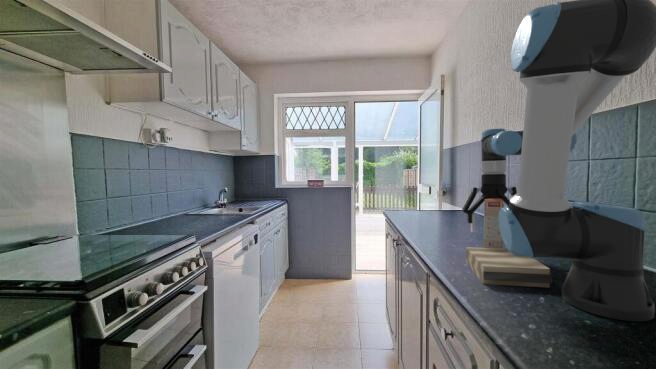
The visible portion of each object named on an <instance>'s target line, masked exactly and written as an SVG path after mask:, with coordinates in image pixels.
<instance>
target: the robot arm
mask: <svg viewBox="0 0 656 369" xmlns="http://www.w3.org/2000/svg"><path fill="white" fill-rule="evenodd" d="M655 49H656V4H655V3H654V2H652V1H651V0H570V1H564V2H563V1H562V2H556V3H553V4H552V3H551V4H549V5H543V6H539V7H536V8H534V9H532V10H530V11H529V12H528V13H527V14H526V15H524V18H523V19H522V21H521V22H520V24H519V25H518V28H517V31H516V33H515V36H514V39H513V42H512V46H511V51H510V56H509V57H510V62H509V63H510V68H511V70H512V71H513V72H516V73H519V82H521V83H522V84H523V85H524V86H525V87H526V97H525V107H524V108H525V109H524V121H523V129H522V130H517V131H514V130H506V129H505V128H501V127H500V128H499V127H498V128H489V129H484V130H483V131H482V132H481V138H480V142H481V173H482V174H481V179H480V180H481V183H480V184H481V186H480V187H475V186H471V192H470V194H469V196H468V198H467V200H466V201H465V204H464V206H463V207H462V209H461V212H463V213H464V214H467V223H468V224H470V232H471V233H472V234H473V233H474V234H475V232H476V227H475V226H476V215H475V214H474V213H475V212H476V210H478V209H479V207H480V206H481V205H482V204H483V203H484V202H485V199H487V198H502V199H503V201H504V204H506V206H504V208H501V209H500V212H499V227H500V232H501V236H502V239H503V245H504V246H505V248H507V249H508V251H509V252H510V253H512V254H514V255H517V256H528V257H530V258H548V259H549V258H550V259H553V258H554V259H571V267H570V270H569V272H568V273H567V276H566V278H565V280H564V283H563V284H562V287H561V296H562V297H561V298H562V299H563V300H564V301H565V302H566V303H568V304H570V305H571V306H573V307H575V308H577V309H579V310H582V311H584V312H588V313H590V314H594V315H597V316H601V317H604V318H609V319H613V320H620V321H627V322H628V321H629V322H647V321H651V320H653V319H655V313H656V310H655V309H656V308H655V303H654V302H653V298H652V296H651V293H650V291H649V288H648V286H647V284H646V281H645V279H644V266H645V265H644V264H645V263H644V262H645V235H646V234H645V233H646V232H647V229H646V223H645V216H644V213H643V212H642V211H641V210H639V209H636V208H633V207H627V206H622V205H615V204H608V203H600V202H592V201H579V200H575V201H573V202H572V203H571V202H570V201H569V200H568V199H567V198H566V197H565V190H566V183H567V176H568V168H569V159H570V153H571V152H572V151H573V150H574V149H575V145H576V144H577V140H578V137H577V134H576V133H577V131H578V130H579V129H580V128H581V127H582V126H583V124H584V123H585V122H586V121H587V120H588V119H589V118H590V117H591V115H592V114H593V113H594V112H595V111H596V110H597V108H599V107H600V105H601V104H602V103H603V102H604V101H605V100H606V99H607V97H608V96H609V95H610V94H612V92H613V91H614V90H615V88H616V87H617V86H618V85H619V84H620V83H621V81H622V80H623V79H624V78H625V77H627V76H630V75H633V74H635V73H636V72H637V71H639V70H640V68H642V66H643V65H644V64H645V63H646V62H647V61H648V60H649V59H650V57H651V56H652V54H653V53H654V51H655ZM507 156H520V163H519V164H520V165H519V174H518V186H517V187H516V186H510V187H509V186H508V187H507V174H506V172H507ZM507 192H508V193H509V194H510V195H511V197H510V198H508V196H506V195H505V194H506V193H507ZM479 193H481V196H479V198H478V199H477V200H476V201H475V202H474V200H475V198H476V196H477V194H479ZM473 202H474V204H473ZM472 204H473V205H472ZM471 205H472V206H471Z"/></svg>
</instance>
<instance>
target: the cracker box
mask: <svg viewBox="0 0 656 369" xmlns="http://www.w3.org/2000/svg"><path fill="white" fill-rule="evenodd" d="M483 203H484V204H483V209H484V210H483V248H504V242H503V239H502V236H501V232H500V227H499V212H500V209H501V208H504V207H505V206H504V204H505V202H504V201H503V199H502V198H487V199H485V201H484V202H483Z"/></svg>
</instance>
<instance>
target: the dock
mask: <svg viewBox="0 0 656 369" xmlns="http://www.w3.org/2000/svg"><path fill="white" fill-rule="evenodd" d="M465 262H466V263H467V265H468V266H469V268H470V269H471V270H472V271H473V273H474V274H475V275H476V276H477V278H478V279H479V281H480V282H481V284H483V285H496V286H497V285H498V286H514V287H515V286H516V287H517V286H518V287H533V288H534V287H535V288H548V289H549V288H550V287H551V286H550V284H553V279H552V278H553V276H552V275H551V269H550V268H549V267H548V266H546V265H545V264H543V263H541V262H540V261H539V260H537V259H536V258H535V257H533V258H530V257H528V256H517V255H514V254H512V253H510V252H509V251H508V249H507V248H506V247H505V248H504V247H503V248H484V247H474V246H473V247H472V246H471V247H469V246H467V247H465Z"/></svg>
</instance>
